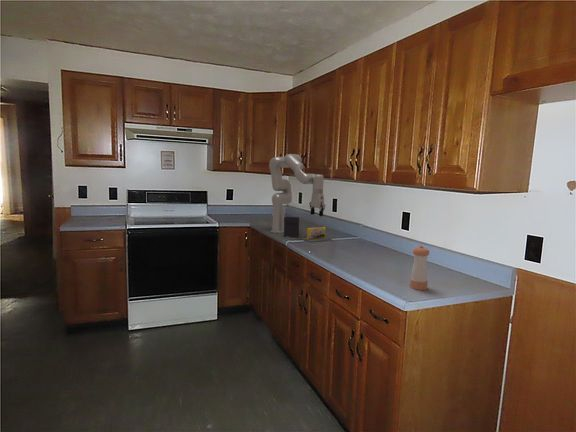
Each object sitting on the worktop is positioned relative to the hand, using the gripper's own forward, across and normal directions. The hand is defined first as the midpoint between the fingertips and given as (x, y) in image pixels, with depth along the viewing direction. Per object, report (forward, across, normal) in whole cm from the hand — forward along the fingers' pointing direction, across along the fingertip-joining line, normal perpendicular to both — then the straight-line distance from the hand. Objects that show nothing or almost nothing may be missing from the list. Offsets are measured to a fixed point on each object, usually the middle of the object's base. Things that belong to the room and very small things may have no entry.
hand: (316, 215), depth 266 cm
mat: (+18, 0, 0) cm, 18 cm away
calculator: (+18, +18, +9) cm, 28 cm away
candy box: (+17, 0, 0) cm, 17 cm away
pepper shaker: (+17, -108, +27) cm, 112 cm away
